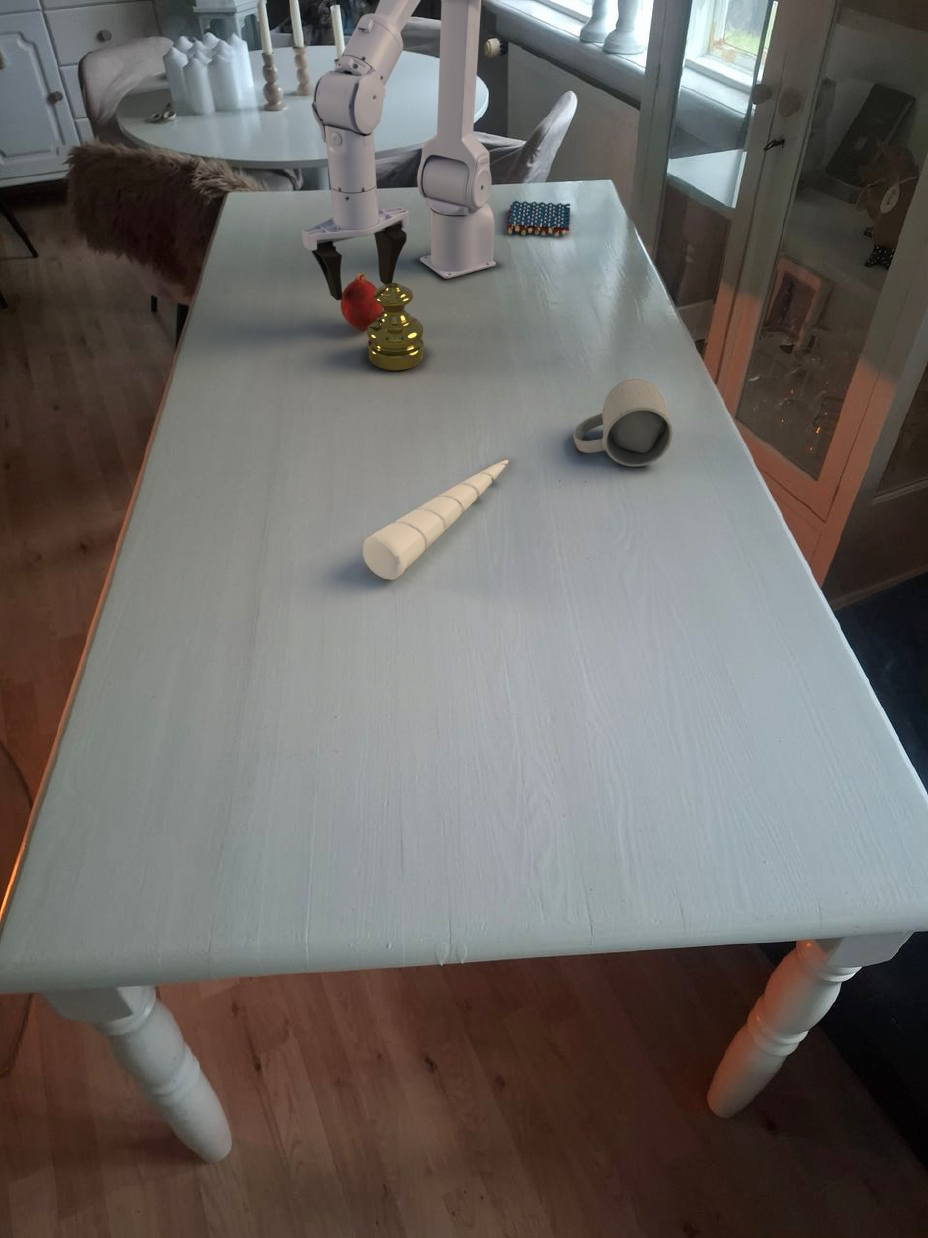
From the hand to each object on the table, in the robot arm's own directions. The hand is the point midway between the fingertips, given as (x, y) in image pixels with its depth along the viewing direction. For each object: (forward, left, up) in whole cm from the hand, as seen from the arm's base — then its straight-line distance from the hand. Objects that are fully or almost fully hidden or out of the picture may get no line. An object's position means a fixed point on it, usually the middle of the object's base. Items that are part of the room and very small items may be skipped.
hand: (361, 290), depth 117 cm
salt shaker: (0, +9, -6) cm, 11 cm away
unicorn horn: (+13, +41, -6) cm, 44 cm away
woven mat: (-43, -17, -6) cm, 47 cm away
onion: (0, 0, -6) cm, 6 cm away
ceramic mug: (-12, +41, -6) cm, 43 cm away
